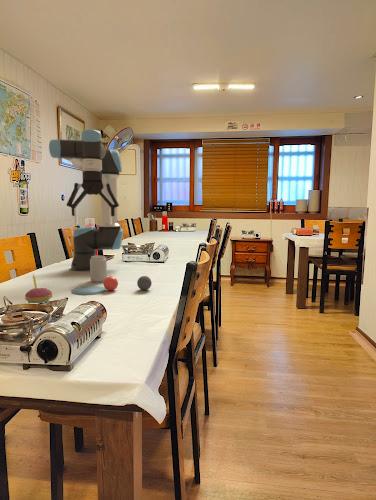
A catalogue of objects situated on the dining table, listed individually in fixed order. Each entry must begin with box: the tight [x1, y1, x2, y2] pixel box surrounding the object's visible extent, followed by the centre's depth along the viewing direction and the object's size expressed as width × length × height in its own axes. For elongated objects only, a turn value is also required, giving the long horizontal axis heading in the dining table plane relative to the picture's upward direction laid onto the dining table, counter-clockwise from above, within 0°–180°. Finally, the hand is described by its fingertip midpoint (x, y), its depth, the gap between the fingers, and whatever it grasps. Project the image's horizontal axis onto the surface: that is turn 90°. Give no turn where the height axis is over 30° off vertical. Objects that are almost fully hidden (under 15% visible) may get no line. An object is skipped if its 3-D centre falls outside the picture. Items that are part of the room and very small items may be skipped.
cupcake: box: [24, 273, 53, 304], centre depth 114 cm, size 9×8×12 cm
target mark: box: [71, 285, 107, 296], centre depth 138 cm, size 14×14×1 cm
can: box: [89, 254, 108, 284], centre depth 154 cm, size 8×8×12 cm
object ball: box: [102, 275, 119, 292], centre depth 139 cm, size 6×6×6 cm
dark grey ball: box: [136, 275, 152, 291], centre depth 140 cm, size 6×6×6 cm
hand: (93, 224), depth 134 cm, fingers open, 13 cm apart
